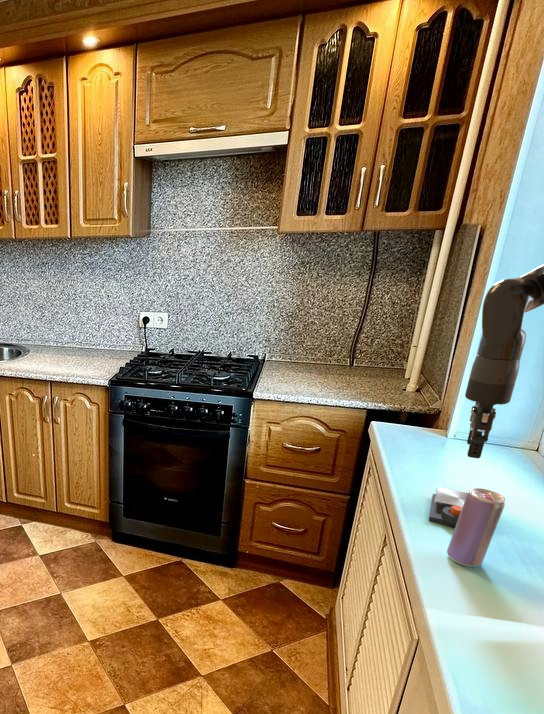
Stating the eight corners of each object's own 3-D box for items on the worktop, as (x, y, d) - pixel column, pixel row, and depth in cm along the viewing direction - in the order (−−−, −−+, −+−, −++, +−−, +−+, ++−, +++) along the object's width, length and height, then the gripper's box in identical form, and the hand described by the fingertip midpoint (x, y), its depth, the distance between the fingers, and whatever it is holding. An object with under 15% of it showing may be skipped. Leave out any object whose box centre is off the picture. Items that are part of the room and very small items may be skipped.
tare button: (450, 510, 121) (451, 504, 121) (465, 513, 120) (466, 507, 119) (449, 515, 119) (451, 509, 119) (465, 518, 118) (466, 512, 117)
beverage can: (453, 565, 105) (477, 500, 100) (441, 548, 111) (463, 485, 105) (487, 570, 104) (513, 504, 98) (473, 553, 110) (497, 489, 104)
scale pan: (436, 488, 131) (437, 486, 131) (481, 497, 126) (482, 495, 126) (434, 502, 124) (435, 500, 124) (482, 512, 119) (482, 511, 119)
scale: (431, 498, 132) (434, 487, 131) (481, 508, 127) (484, 497, 126) (428, 523, 121) (430, 512, 120) (482, 536, 116) (485, 524, 115)
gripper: (518, 388, 101) (496, 465, 106) (513, 373, 112) (493, 443, 117) (470, 383, 105) (451, 458, 111) (469, 369, 116) (452, 437, 121)
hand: (473, 450), depth 114 cm, fingers open, 8 cm apart
